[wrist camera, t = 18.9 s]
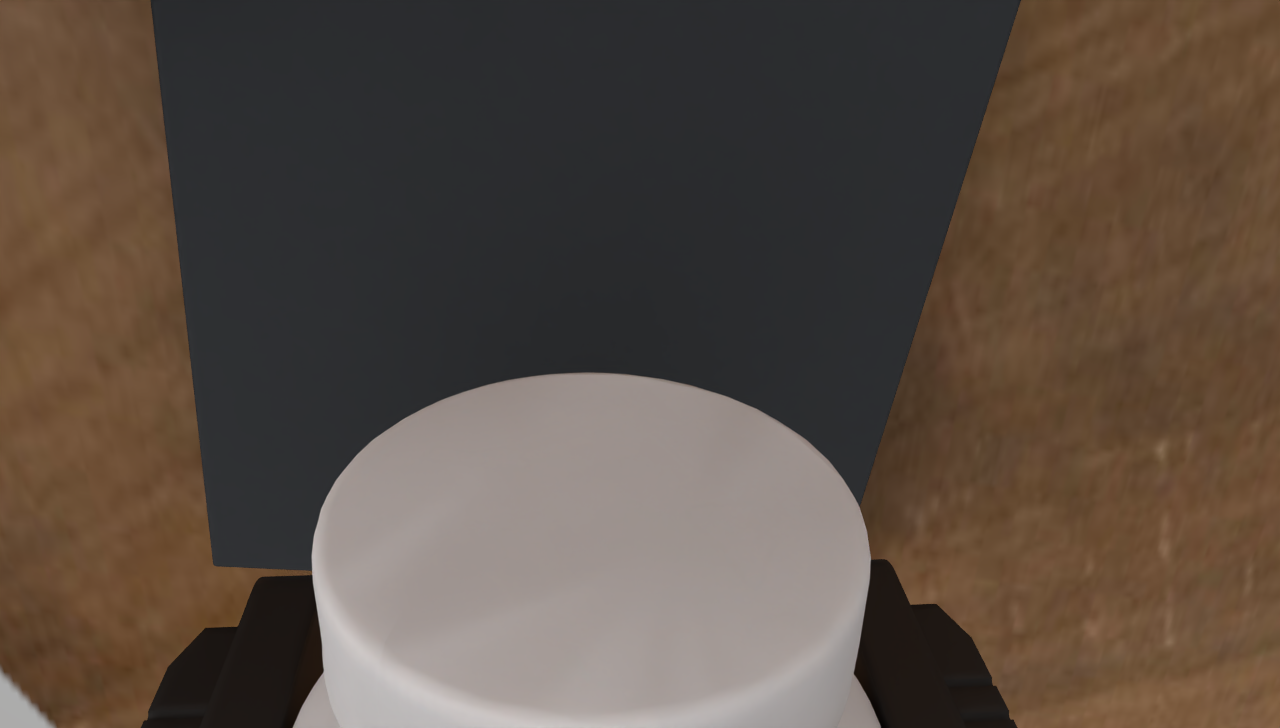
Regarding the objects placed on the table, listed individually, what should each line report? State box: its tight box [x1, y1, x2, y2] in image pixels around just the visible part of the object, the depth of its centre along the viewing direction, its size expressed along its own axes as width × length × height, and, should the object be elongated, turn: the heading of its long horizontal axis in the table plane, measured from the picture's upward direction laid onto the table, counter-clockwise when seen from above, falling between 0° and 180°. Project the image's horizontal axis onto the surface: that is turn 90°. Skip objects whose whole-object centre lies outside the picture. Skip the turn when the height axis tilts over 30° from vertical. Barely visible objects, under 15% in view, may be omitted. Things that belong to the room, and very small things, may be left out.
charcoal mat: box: [151, 0, 1021, 571], centre depth 18 cm, size 14×14×1 cm
